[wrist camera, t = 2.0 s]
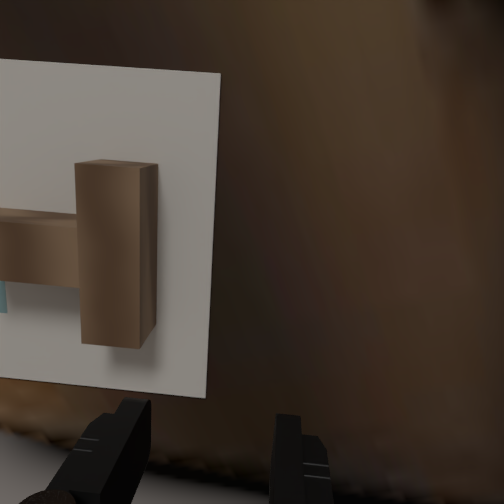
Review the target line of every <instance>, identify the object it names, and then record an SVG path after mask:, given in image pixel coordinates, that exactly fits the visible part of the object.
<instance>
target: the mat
mask: <svg viewBox="0 0 504 504" xmlns="http://www.w3.org/2000/svg"><path fill="white" fill-rule="evenodd" d="M220 85H221V74H219V73H204V72H189V71H174V70H159V69H144V68H129V67H114V66H99V65H84V64H69V63H54V62H39V61H24V60H9V59H0V208H11V209H23V210H35V211H47V212H59V213H70V214H76V194H75V169H74V163H79V162H85V161H92V160H99V159H106V160H119V161H132V162H144V163H157V164H158V225H157V311H156V325H155V327H154V328H153V330H152V331H151V333H150V334H149V336H148V337H147V339H146V340H145V342H144V344H143V345H142V347H141V348H140V349H131V348H121V347H111V346H100V345H90V344H81V320H80V295H79V288H73V287H62V286H51V285H40V284H30V283H19V282H8V281H0V377H6V378H16V379H25V380H35V381H44V382H54V383H64V384H73V385H83V386H92V387H102V388H112V389H121V390H131V391H140V392H150V393H160V394H169V395H179V396H188V397H198V398H205V397H206V380H207V359H208V338H209V317H210V296H211V275H212V253H213V232H214V211H215V190H216V169H217V148H218V127H219V106H220Z"/></svg>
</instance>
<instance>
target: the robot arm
mask: <svg viewBox="0 0 504 504" xmlns="http://www.w3.org/2000/svg"><path fill="white" fill-rule="evenodd" d="M150 448H151V401H150V400H147V399H138V398H128V397H125V398H124V399H123V400H122V402H121V404H120V405H119V407H118V409H117V410H116V412H115V414H110V413H103V414H102V415H100V416H99V417H98V418H96V419H95V420H94V421H92V422H91V423H90V424H89V425H88V427H87V428H86V430H85V431H84V433H83V434H82V436H81V438H80V439H79V440H78V442H77V443H76V445H75V446H74V448H73V450H72V451H71V452H70V454H69V455H68V457H67V458H66V460H65V461H64V463H63V464H62V466H61V467H60V469H59V470H58V472H57V473H56V475H55V476H54V478H53V479H52V481H51V482H50V484H49V485H48V487H47V488H46V490H44V491H40V492H38V493H35V494H33V495H31V496H29V497H27V498H26V499H24V500H23V501H22V502H20V503H19V504H131V502H132V500H133V497H134V495H135V493H136V490H137V488H138V485H139V483H140V480H141V478H142V475H143V473H144V471H145V468H146V466H147V463H148V459H149V454H150ZM328 465H329V464H328V457H327V450H326V448H325V447H324V445H323V444H322V442H321V441H320V439H319V438H318V436H311V435H302V432H301V417H300V416H296V415H287V414H277V413H276V417H275V426H274V437H273V447H272V457H271V469H270V488H269V504H334V502H333V494H332V487H331V480H330V472H329V467H328Z"/></svg>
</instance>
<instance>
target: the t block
mask: <svg viewBox="0 0 504 504" xmlns="http://www.w3.org/2000/svg"><path fill="white" fill-rule="evenodd" d="M74 169H75V194H76V214H70V213H59V212H47V211H35V210H23V209H11V208H0V281H8V282H19V283H30V284H40V285H51V286H62V287H73V288H79V295H80V320H81V344H90V345H100V346H111V347H121V348H131V349H140V348H141V347H142V345H143V344H144V342H145V340H146V339H147V337H148V336H149V334H150V333H151V331H152V330H153V328H154V327H155V325H156V311H157V225H158V164H157V163H144V162H132V161H119V160H106V159H99V160H92V161H85V162H79V163H74Z"/></svg>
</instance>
